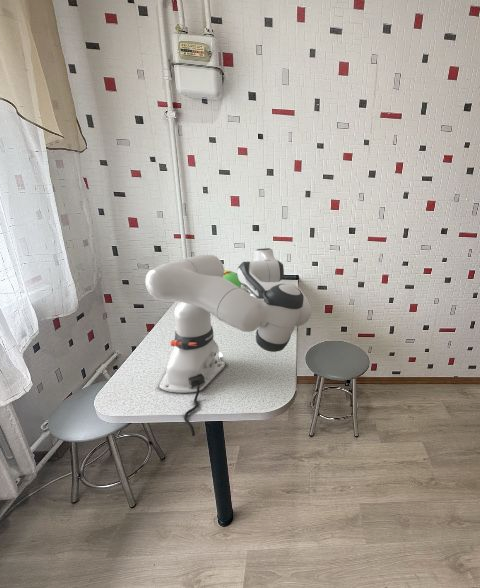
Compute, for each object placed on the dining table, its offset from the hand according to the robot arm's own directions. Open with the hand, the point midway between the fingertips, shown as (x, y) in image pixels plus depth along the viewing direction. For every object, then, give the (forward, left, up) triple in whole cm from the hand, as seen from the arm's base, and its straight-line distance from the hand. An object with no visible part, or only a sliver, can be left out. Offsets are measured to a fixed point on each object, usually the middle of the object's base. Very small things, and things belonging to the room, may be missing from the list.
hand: (267, 312), depth 151 cm
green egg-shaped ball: (+26, +29, -4) cm, 39 cm away
